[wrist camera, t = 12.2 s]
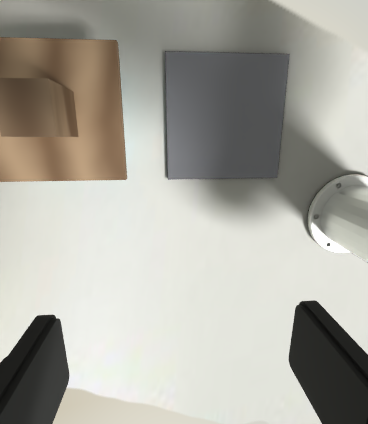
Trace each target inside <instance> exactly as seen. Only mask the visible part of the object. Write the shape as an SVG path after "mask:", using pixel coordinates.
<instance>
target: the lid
mask: <svg viewBox="0 0 368 424" xmlns="http://www.w3.org/2000/svg"><path fill="white" fill-rule="evenodd" d="M126 179H127V169H126V154H125V139H124V124H123V109H122V94H121V79H120V64H119V49H118V42H117V40H91V39H51V38H10V37H0V182H14V181H78V180H126Z"/></svg>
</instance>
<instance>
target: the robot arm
mask: <svg viewBox="0 0 368 424" xmlns="http://www.w3.org/2000/svg"><path fill="white" fill-rule="evenodd" d="M308 227H309V231H310V234H311V236H312V237H313V239H314V240H315V241H316V242H317V243H318V244H319V245H320V246H322V247H323V248H325V249H327V250H329V251H332V252H338V253H345V252H351V253H352V254H354V255H355V256H357V257H359V258H360V259H362V260H364V261H365V262H367V263H368V176H365V175H359V174H349V175H345V176H341V177H339V178H336V179H334V180H332V181H331V182H329V183H328V184H326V185H325V186H324V187H323V188H322V189H321V190H320V191H319V192H318V194H317V195H316V196H315V198H314V200H313V201H312V203H311V206H310V209H309V213H308ZM289 363H290V367H291V369H292V370H293V372H294V374H295V376H296V378H297V379H298V381H299V383H300V385H301V387H302V388H303V390H304V392H305V394H306V396H307V397H308V399H309V401H310V403H311V405H312V406H313V408H314V410H315V412H316V413H317V415H318V417H319V419H320V421H321V422H322V424H368V355H367V354H366V353H365V351H364V350H363V349H362V348H361V347H360V346H359V345H358V344H357V343H356V342H355V341H354V340H353V339H352V338H351V337H350V336H349V335H348V333H347V332H346V331H345V330H344V329H343V328H342V327H341V326H340V325H339V324H338V323H337V322H336V321H335V320H334V319H333V318H332V317H331V315H330V314H329V313H328V312H327V311H326V310H325V309H324V308H323V307H322V306H321V305H320V304H319V303H318V302H317V301H302V302H300V304H299V305H297V306H296V309H295V316H294V323H293V331H292V338H291V345H290V352H289ZM68 381H69V369H68V363H67V357H66V351H65V345H64V339H63V333H62V327H61V322H60V319H56V317H55V315H39V316H37V317H36V318H35V319H34V320H33V322H32V323H31V324H30V326H29V327H28V329H27V330H26V331H25V333H24V334H23V336H22V337H21V339H20V340H19V341H18V343H17V344H16V346H15V347H14V348H13V350H12V351H11V353H10V354H9V355H8V356H7V357H6V358H4V359H3V360H2V362H1V363H0V424H52V423H53V420H54V418H55V415H56V413H57V410H58V408H59V405H60V403H61V400H62V397H63V395H64V392H65V390H66V387H67V385H68Z"/></svg>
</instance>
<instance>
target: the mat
mask: <svg viewBox="0 0 368 424" xmlns="http://www.w3.org/2000/svg"><path fill="white" fill-rule="evenodd" d="M165 62H166V108H167V155H168V179H227V178H277V175H278V165H279V155H280V145H281V135H282V125H283V115H284V104H285V94H286V84H287V74H288V64H289V54H264V53H217V52H170V51H165Z"/></svg>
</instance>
